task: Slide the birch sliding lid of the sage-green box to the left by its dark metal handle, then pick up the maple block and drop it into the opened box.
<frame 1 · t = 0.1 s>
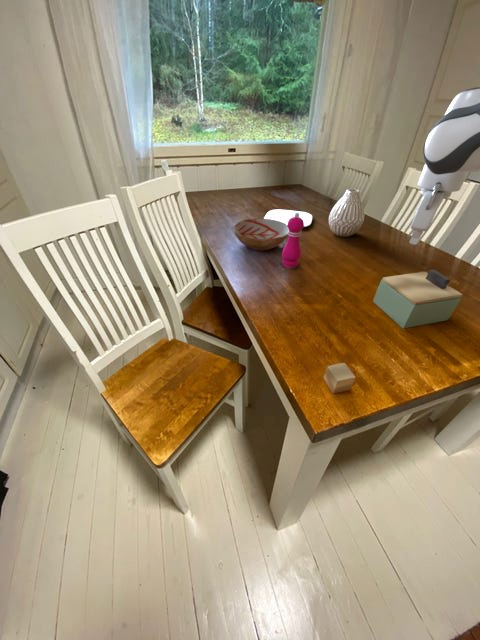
hand: (416, 237, 71), 23 cm above the table, tool pointing down, fingers open, 8 cm apart
vase: (342, 233, 135), on the table
block: (336, 384, 63), on the table
lid: (422, 282, 79), point 10 cm above the table, slide at 0.0 cm
bowl: (260, 245, 123), on the table
pepper mill: (290, 264, 109), on the table
box: (408, 310, 85), on the table
plate: (287, 220, 149), on the table
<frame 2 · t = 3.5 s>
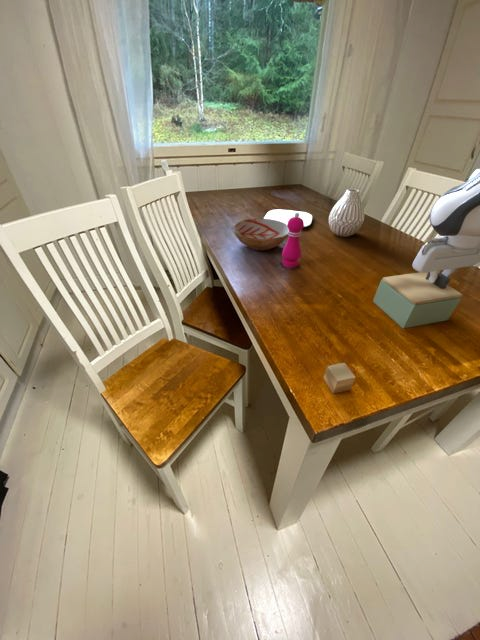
hand: (436, 281, 80), 10 cm above the table, tool pointing down, fingers closed on lid, 2 cm apart
lid: (422, 282, 79), point 10 cm above the table, slide at 0.0 cm, touching gripper
everything else where it was.
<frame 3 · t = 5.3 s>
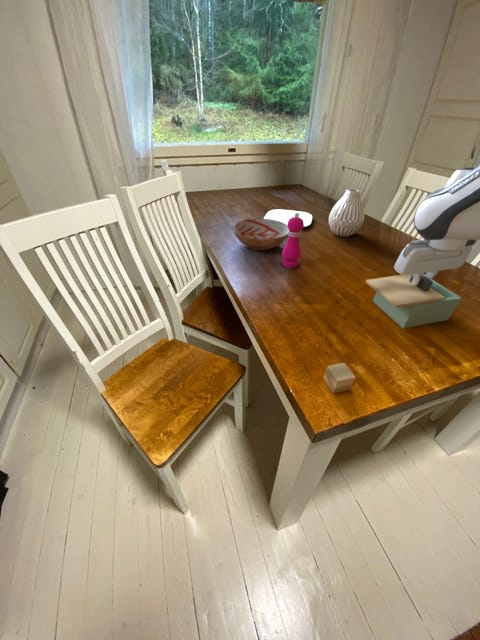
hand: (419, 283, 79), 10 cm above the table, tool pointing down, fingers closed on lid, 2 cm apart
lid: (405, 284, 78), point 10 cm above the table, slide at 5.9 cm, touching gripper
everything else where it was.
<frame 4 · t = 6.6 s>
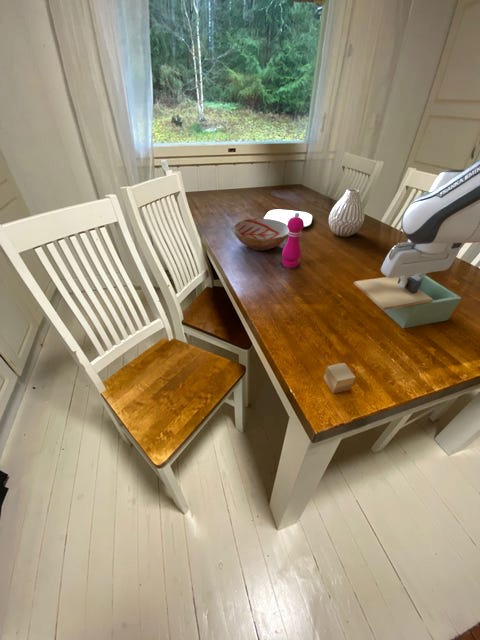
hand: (407, 285, 78), 10 cm above the table, tool pointing down, fingers closed on lid, 2 cm apart
lid: (393, 286, 77), point 10 cm above the table, slide at 10.0 cm, touching gripper
everything else where it was.
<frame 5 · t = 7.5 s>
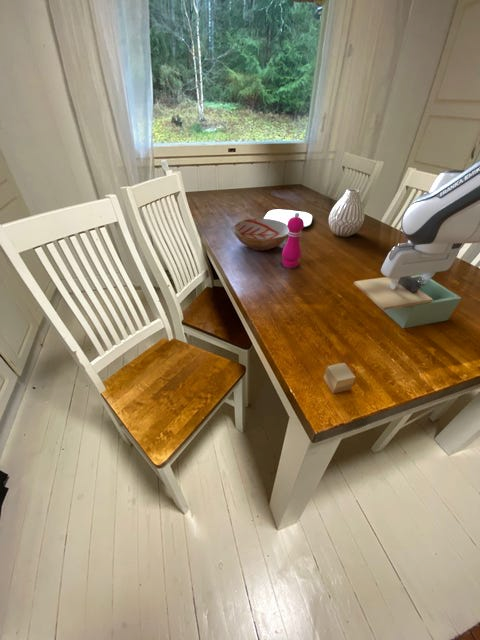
hand: (407, 286, 78), 10 cm above the table, tool pointing down, fingers open, 8 cm apart
lid: (393, 286, 77), point 10 cm above the table, slide at 10.0 cm
everything else where it was.
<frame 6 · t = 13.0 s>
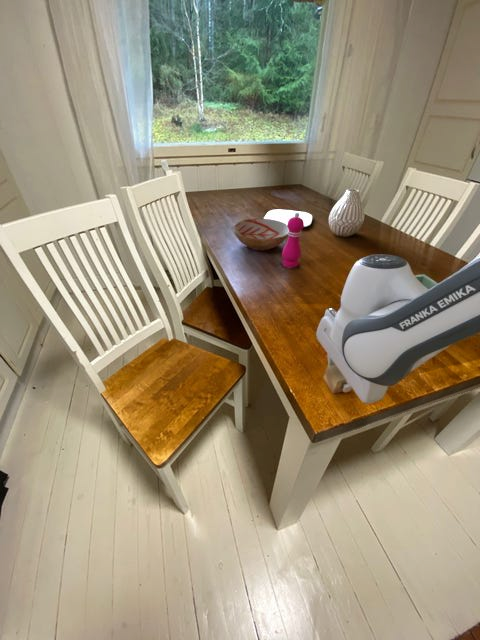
hand: (338, 379, 62), 2 cm above the table, tool pointing down, fingers closed on block, 4 cm apart
block: (336, 384, 63), on the table, touching gripper
everything else where it was.
when the fingers open (8 cm above the table, at t = 21.3 s): block drops 5 cm, resting on box.
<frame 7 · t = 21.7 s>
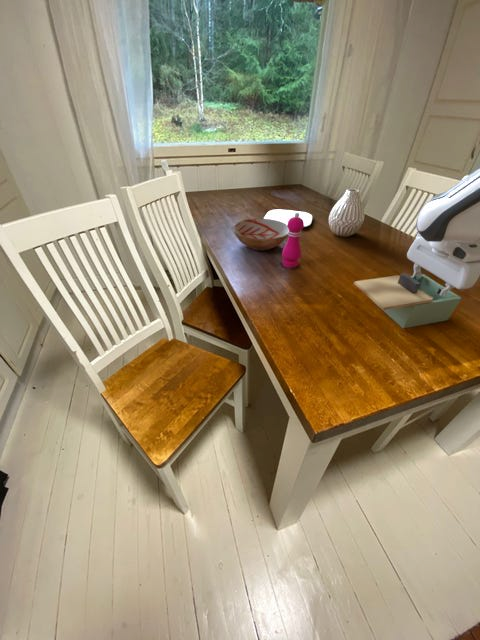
hand: (427, 286, 80), 9 cm above the table, tool pointing down, fingers open, 8 cm apart
block: (416, 306, 85), point 1 cm above the table, touching box
everything else where it was.
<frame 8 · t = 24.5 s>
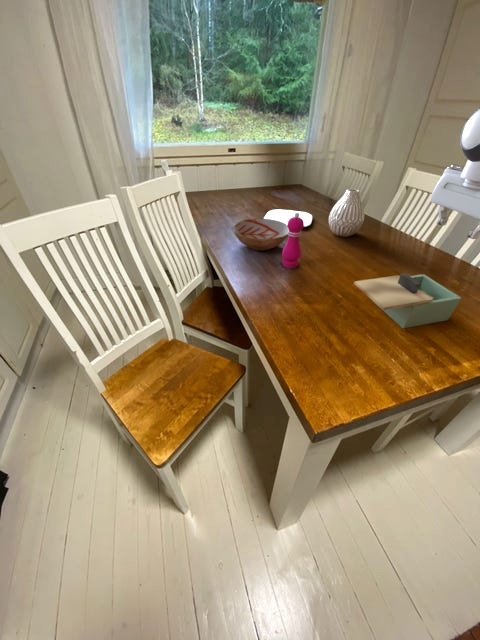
hand: (455, 231, 70), 25 cm above the table, tool pointing down, fingers open, 8 cm apart
nothing on the table moved.
at the end: lid slide at 10.0 cm; block inside the target area on the box (2.4 cm from its centre), point 1.0 cm above the box's base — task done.
